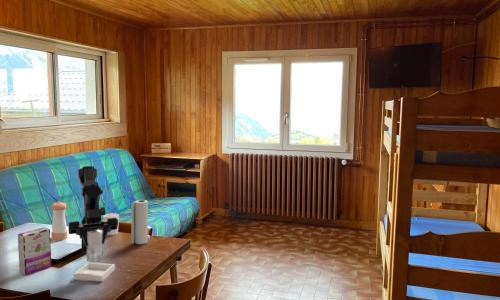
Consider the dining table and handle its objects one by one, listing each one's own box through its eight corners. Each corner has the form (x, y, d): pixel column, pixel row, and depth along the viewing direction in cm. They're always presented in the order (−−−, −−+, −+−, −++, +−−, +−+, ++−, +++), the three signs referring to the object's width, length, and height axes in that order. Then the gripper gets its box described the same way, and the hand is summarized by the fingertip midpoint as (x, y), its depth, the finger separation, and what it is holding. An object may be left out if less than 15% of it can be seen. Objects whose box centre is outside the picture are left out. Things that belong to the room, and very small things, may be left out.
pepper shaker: (70, 237, 203) (69, 201, 201) (56, 241, 197) (56, 203, 195) (61, 235, 207) (61, 199, 205) (48, 238, 201) (47, 201, 199)
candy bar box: (45, 264, 169) (44, 226, 168) (51, 266, 167) (51, 228, 165) (18, 272, 160) (17, 233, 158) (25, 275, 157) (23, 235, 155)
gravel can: (83, 260, 158) (83, 230, 157) (95, 255, 164) (95, 227, 162) (93, 263, 155) (93, 233, 154) (106, 258, 161) (105, 229, 159)
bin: (73, 280, 155) (73, 273, 155) (88, 268, 166) (88, 262, 166) (102, 282, 154) (102, 275, 154) (114, 270, 165) (114, 264, 165)
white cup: (104, 236, 207) (104, 217, 206) (102, 232, 214) (102, 214, 213) (120, 234, 210) (120, 216, 209) (117, 230, 217) (117, 212, 216)
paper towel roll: (148, 240, 203) (149, 199, 200) (146, 244, 196) (146, 202, 194) (134, 240, 202) (134, 199, 200) (131, 244, 196) (131, 202, 194)
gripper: (68, 202, 156) (69, 238, 148) (117, 198, 165) (121, 232, 156) (67, 216, 164) (69, 251, 156) (115, 212, 172) (118, 245, 164)
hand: (95, 244), depth 158 cm, fingers closed on gravel can, 6 cm apart
